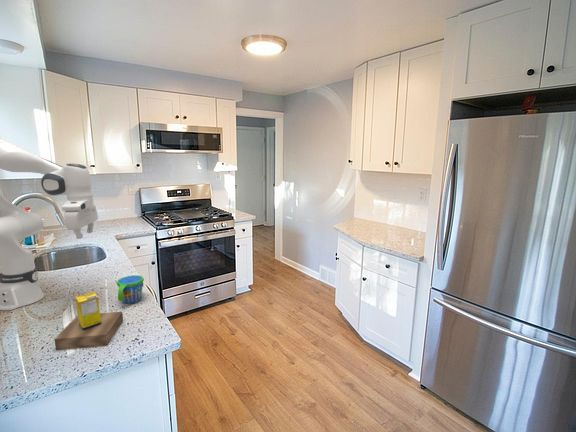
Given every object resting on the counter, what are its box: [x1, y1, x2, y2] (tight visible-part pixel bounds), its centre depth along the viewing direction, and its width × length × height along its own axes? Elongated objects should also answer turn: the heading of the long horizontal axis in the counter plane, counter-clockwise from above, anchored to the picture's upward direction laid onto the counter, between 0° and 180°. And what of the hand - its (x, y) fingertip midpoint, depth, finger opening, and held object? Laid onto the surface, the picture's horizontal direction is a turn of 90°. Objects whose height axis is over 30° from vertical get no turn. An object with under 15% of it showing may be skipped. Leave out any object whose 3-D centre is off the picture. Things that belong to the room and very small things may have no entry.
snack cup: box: [116, 274, 144, 304], centre depth 138 cm, size 16×10×10 cm
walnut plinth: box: [54, 311, 124, 351], centre depth 112 cm, size 16×16×4 cm
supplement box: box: [74, 291, 101, 330], centre depth 111 cm, size 6×6×11 cm
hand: (85, 235), depth 130 cm, fingers open, 8 cm apart
